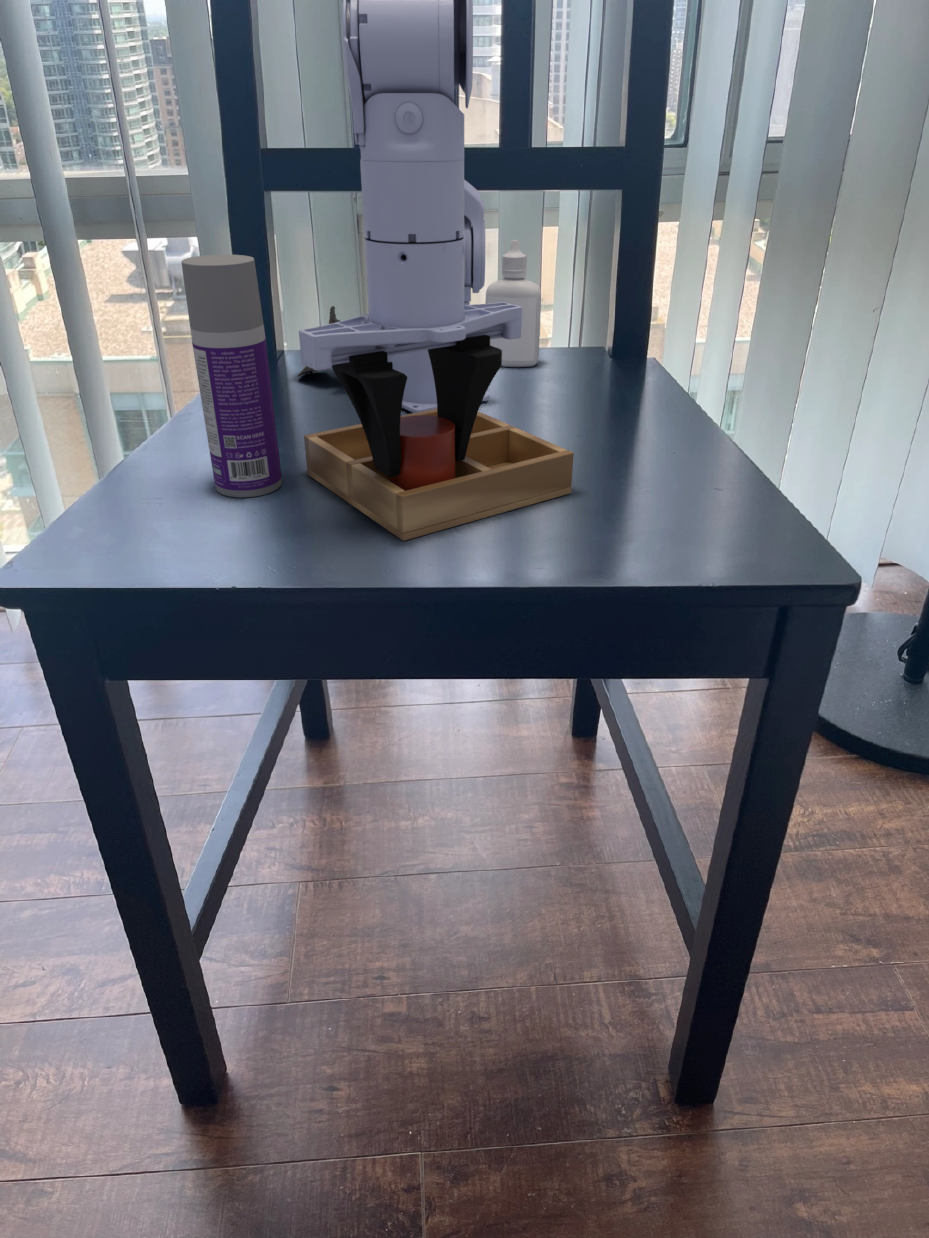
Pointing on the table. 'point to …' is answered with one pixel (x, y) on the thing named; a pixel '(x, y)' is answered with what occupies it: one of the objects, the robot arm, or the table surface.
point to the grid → (483, 485)
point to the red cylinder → (425, 451)
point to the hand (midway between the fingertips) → (420, 464)
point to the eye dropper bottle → (519, 294)
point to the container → (233, 373)
